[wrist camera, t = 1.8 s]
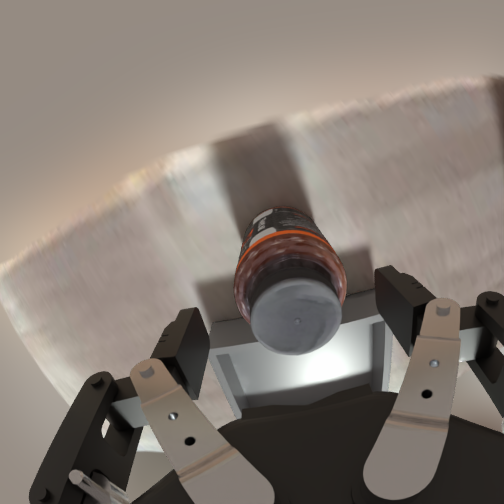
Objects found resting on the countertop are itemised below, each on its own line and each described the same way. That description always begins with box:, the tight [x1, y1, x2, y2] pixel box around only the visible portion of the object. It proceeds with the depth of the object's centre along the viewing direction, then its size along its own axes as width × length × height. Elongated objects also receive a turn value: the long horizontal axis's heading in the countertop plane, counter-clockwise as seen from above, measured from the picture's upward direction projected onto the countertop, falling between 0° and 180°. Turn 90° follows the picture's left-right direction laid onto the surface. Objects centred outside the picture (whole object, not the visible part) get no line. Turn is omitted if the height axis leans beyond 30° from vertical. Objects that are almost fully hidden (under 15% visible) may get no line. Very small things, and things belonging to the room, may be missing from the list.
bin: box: [208, 289, 393, 419], centre depth 24 cm, size 15×13×4 cm
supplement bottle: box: [233, 206, 347, 356], centre depth 17 cm, size 6×6×11 cm
